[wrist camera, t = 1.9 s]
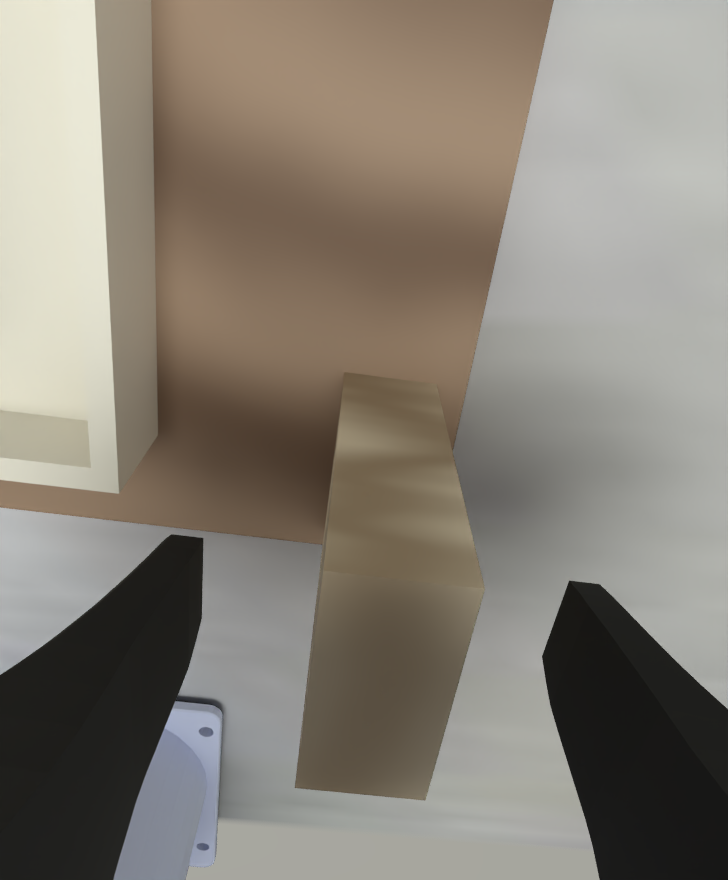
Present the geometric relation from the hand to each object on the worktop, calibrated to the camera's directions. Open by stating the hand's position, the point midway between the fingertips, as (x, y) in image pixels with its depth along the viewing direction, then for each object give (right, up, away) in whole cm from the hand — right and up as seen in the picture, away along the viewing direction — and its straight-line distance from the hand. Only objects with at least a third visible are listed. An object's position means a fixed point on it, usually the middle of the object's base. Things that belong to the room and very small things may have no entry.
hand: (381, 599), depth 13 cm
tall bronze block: (0, +3, +5) cm, 6 cm away
